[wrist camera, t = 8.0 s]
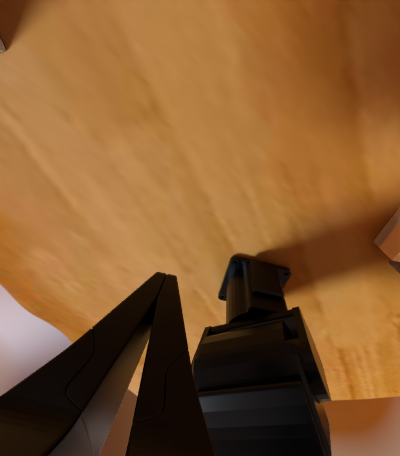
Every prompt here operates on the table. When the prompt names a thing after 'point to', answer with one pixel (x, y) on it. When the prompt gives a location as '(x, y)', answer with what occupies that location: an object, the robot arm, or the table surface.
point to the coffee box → (1, 47)
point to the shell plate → (390, 237)
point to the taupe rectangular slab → (395, 265)
